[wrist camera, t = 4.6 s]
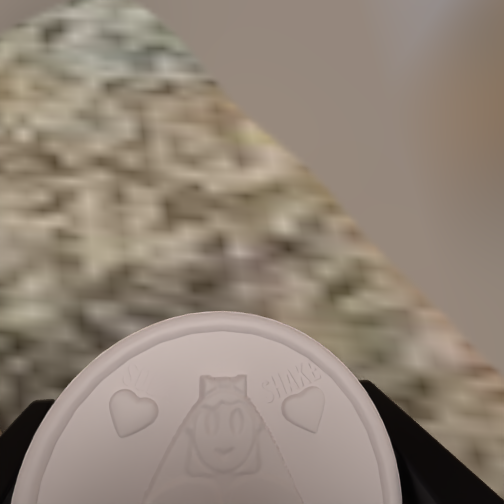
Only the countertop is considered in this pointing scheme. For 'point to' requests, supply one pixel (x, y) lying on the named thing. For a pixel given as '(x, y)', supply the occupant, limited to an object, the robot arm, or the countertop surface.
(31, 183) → the countertop surface
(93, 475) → the smoothie
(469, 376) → the countertop surface
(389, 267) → the countertop surface
